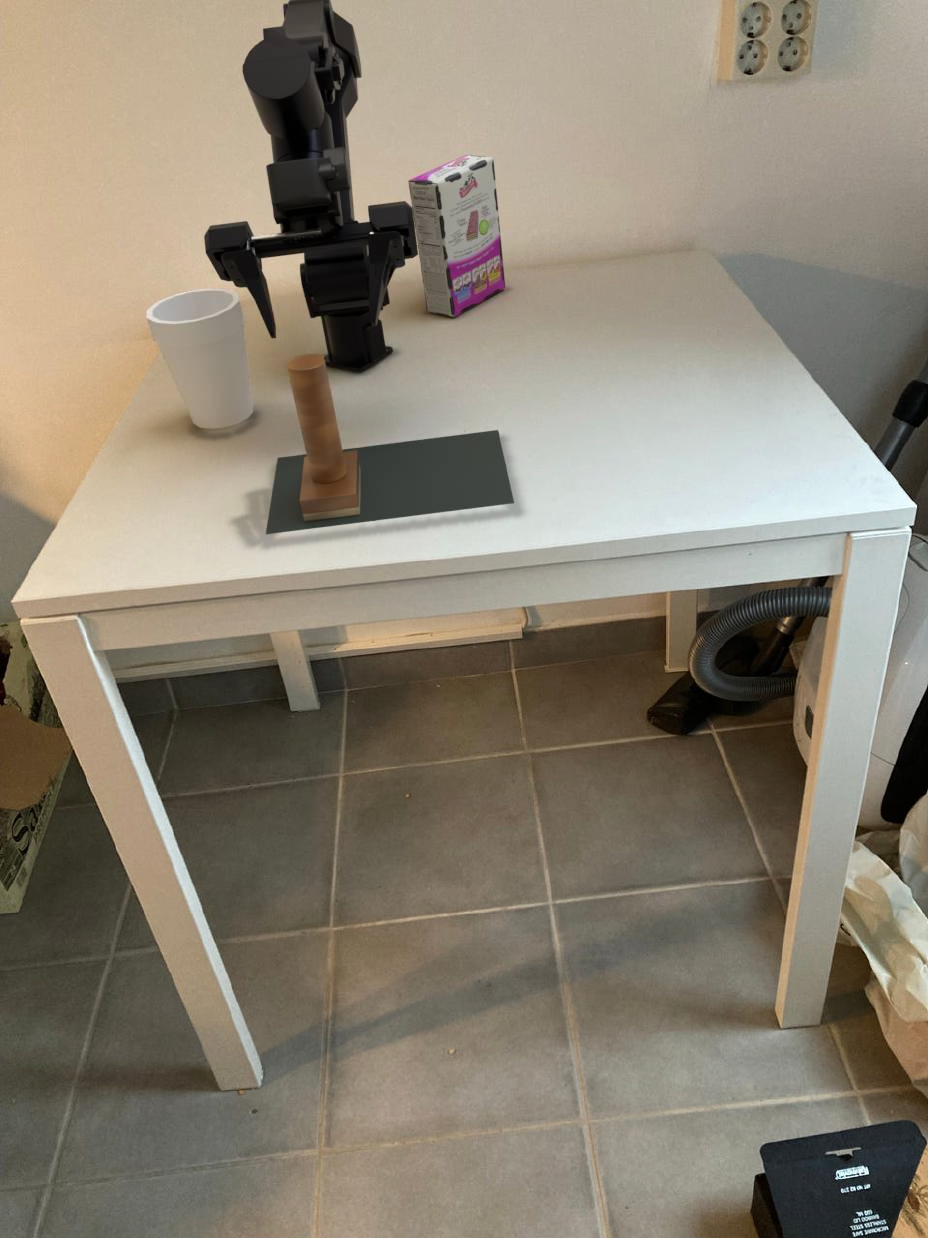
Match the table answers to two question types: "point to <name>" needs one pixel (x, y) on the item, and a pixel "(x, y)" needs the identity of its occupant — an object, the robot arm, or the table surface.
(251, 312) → the table surface
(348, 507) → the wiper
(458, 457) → the board
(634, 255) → the table surface
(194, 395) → the foam cup
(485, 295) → the candy bar box
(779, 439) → the table surface
